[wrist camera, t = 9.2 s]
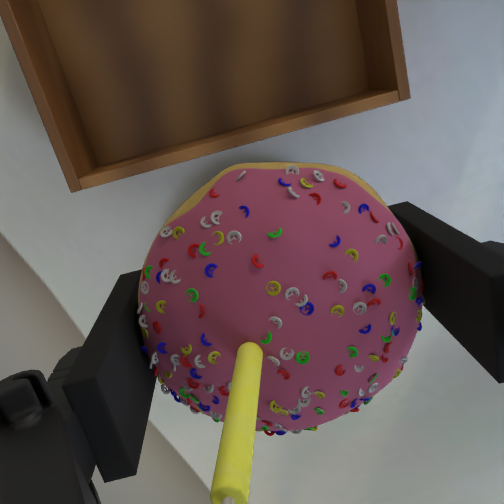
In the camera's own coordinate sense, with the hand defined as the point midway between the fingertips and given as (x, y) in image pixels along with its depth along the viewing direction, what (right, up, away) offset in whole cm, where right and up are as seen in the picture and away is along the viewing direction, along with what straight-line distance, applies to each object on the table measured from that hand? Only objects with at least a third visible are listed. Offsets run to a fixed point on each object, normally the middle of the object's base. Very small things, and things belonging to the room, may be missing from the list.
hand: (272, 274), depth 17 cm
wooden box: (-4, +15, +15) cm, 22 cm away
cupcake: (0, +1, +2) cm, 2 cm away
